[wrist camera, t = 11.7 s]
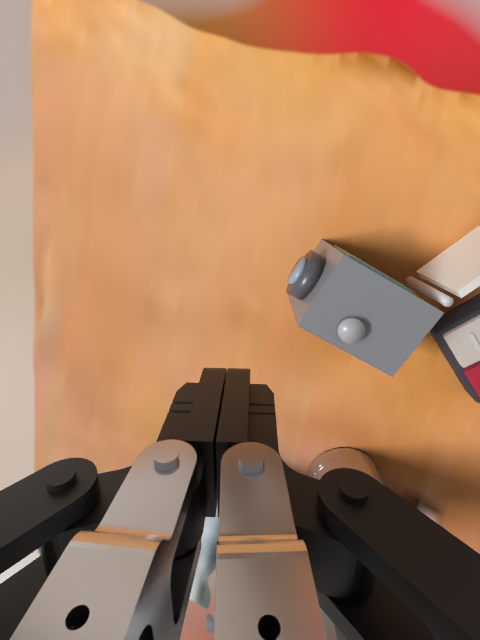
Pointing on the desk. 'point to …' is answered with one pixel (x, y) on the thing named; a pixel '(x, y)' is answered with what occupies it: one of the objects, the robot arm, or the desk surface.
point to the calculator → (462, 343)
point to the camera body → (361, 307)
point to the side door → (456, 266)
